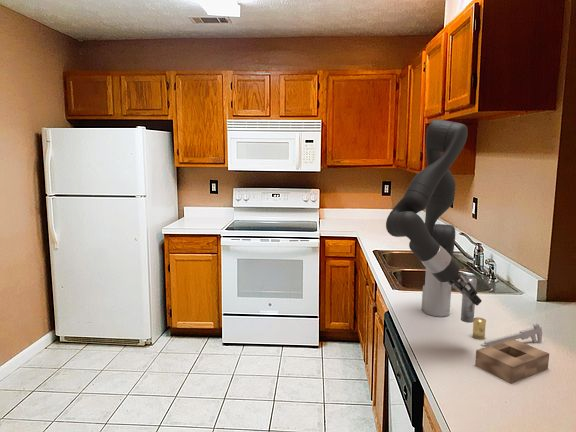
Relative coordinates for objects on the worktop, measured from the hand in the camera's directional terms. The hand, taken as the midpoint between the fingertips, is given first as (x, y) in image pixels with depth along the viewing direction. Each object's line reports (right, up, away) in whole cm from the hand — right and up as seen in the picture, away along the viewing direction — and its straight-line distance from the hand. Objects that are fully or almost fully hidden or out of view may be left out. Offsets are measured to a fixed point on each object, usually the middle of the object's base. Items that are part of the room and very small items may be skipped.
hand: (474, 300), depth 130 cm
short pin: (+6, -14, +11) cm, 18 cm away
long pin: (-2, -6, +1) cm, 6 cm away
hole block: (+6, -17, -9) cm, 20 cm away
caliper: (+14, -15, +6) cm, 21 cm away
